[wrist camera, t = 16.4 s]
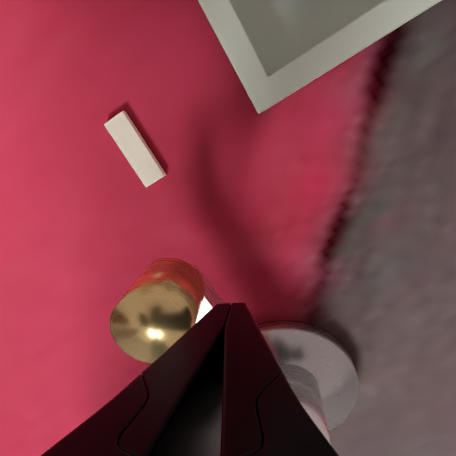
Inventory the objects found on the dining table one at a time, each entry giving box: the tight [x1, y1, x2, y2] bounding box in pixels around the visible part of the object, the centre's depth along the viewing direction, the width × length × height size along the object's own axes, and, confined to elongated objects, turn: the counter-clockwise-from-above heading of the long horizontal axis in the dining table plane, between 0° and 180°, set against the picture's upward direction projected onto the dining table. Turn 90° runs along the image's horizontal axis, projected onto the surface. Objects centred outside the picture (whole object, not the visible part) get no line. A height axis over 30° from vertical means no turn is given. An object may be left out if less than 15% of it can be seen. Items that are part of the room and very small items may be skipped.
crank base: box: [258, 321, 360, 431], centre depth 16 cm, size 7×7×1 cm
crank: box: [110, 258, 331, 445], centre depth 12 cm, size 11×3×5 cm, turn 34°
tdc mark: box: [104, 111, 166, 187], centre depth 13 cm, size 3×1×1 cm, turn 31°
